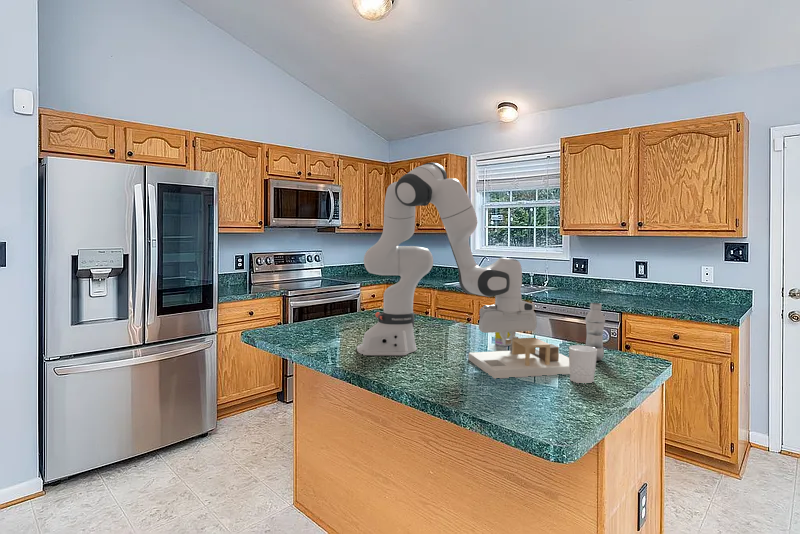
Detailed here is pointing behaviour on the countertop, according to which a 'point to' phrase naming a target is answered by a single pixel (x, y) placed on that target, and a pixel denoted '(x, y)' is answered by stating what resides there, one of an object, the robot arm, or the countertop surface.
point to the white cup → (582, 363)
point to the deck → (520, 360)
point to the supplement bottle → (498, 338)
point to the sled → (541, 353)
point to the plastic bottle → (595, 329)
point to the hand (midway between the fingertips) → (507, 344)
